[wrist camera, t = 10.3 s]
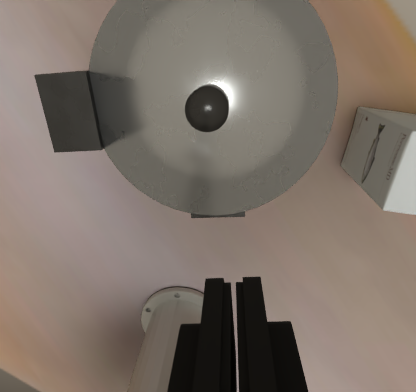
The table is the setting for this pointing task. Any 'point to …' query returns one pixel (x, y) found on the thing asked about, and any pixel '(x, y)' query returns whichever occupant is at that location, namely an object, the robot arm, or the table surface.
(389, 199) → the supplement box
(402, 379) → the table surface
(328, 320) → the table surface
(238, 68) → the cooker lid
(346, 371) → the table surface
